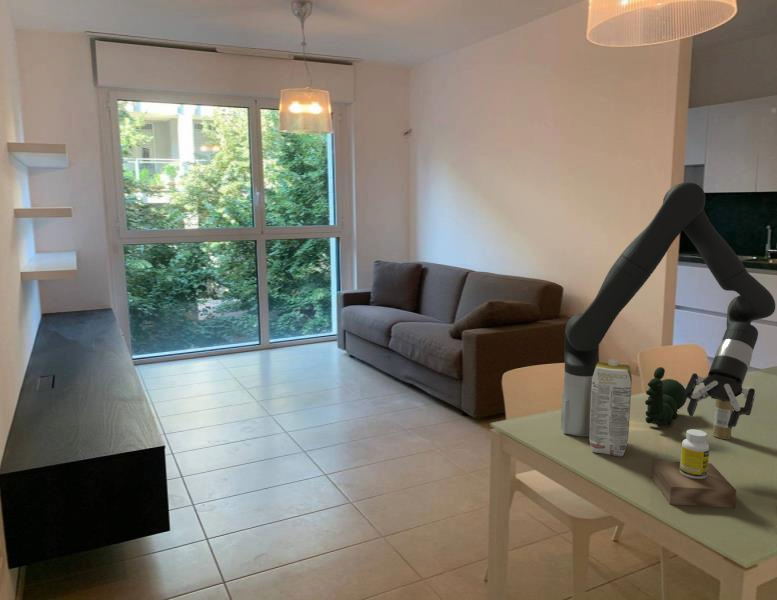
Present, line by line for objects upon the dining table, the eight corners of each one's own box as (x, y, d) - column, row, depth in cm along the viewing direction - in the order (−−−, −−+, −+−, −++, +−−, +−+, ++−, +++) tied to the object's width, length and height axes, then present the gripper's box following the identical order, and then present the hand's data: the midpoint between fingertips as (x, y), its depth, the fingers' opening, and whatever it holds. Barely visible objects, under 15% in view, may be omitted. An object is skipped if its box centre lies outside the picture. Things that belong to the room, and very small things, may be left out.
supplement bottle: (706, 482, 128) (709, 439, 126) (678, 476, 131) (681, 434, 129) (707, 472, 132) (711, 430, 131) (681, 467, 135) (684, 426, 134)
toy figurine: (669, 441, 164) (691, 408, 183) (673, 376, 160) (694, 350, 178) (634, 433, 170) (659, 402, 189) (636, 370, 166) (661, 346, 184)
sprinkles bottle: (734, 437, 162) (738, 390, 160) (725, 441, 160) (729, 393, 157) (717, 432, 166) (721, 385, 164) (708, 435, 163) (712, 388, 161)
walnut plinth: (669, 504, 126) (671, 486, 126) (651, 476, 139) (652, 460, 139) (734, 507, 125) (736, 490, 124) (709, 479, 137) (711, 463, 137)
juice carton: (628, 447, 156) (633, 359, 152) (626, 459, 149) (632, 366, 145) (590, 442, 160) (595, 355, 156) (587, 453, 153) (592, 363, 149)
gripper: (698, 347, 147) (675, 405, 142) (763, 363, 138) (742, 425, 133) (701, 361, 152) (680, 417, 147) (765, 377, 143) (744, 437, 138)
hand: (709, 420), depth 140 cm, fingers open, 8 cm apart
